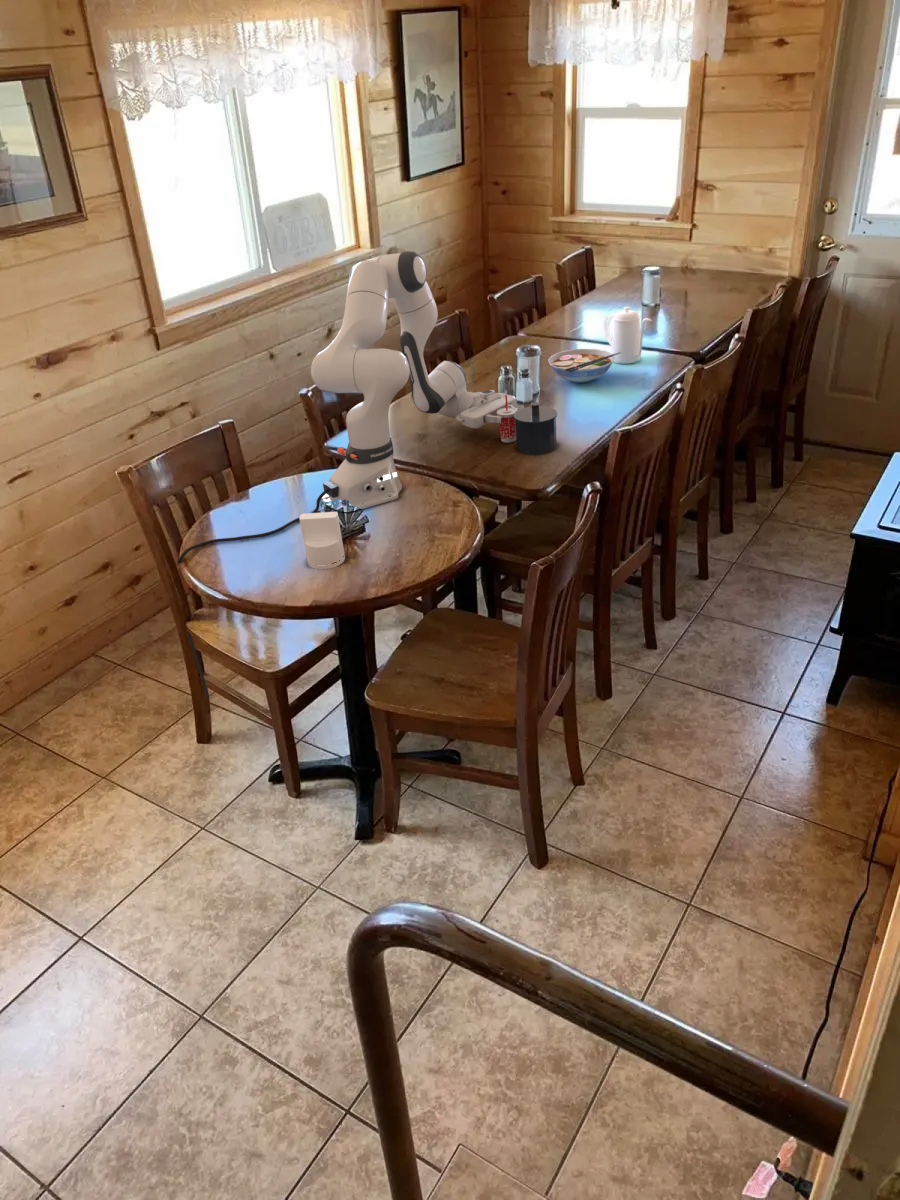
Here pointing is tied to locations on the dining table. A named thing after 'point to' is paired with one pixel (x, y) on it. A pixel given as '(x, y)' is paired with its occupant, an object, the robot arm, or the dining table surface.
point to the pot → (536, 437)
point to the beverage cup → (507, 424)
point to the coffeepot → (625, 335)
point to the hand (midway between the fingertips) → (509, 415)
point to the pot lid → (535, 414)
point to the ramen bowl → (581, 364)
